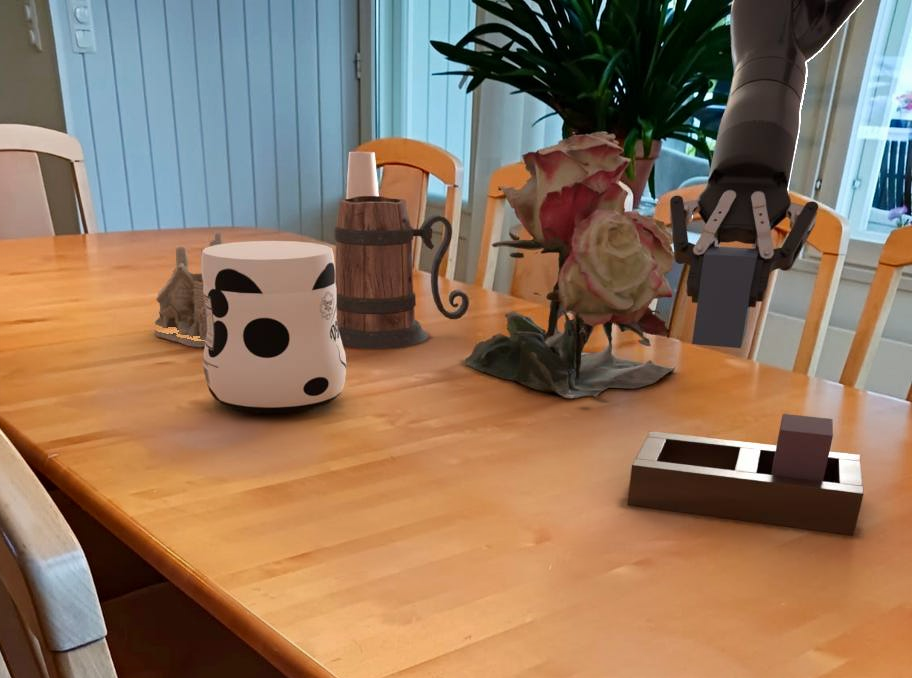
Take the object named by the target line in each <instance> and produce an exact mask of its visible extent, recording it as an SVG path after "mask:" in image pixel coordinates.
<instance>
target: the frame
mask: <svg viewBox="0 0 912 678" xmlns="http://www.w3.org/2000/svg"><path fill="white" fill-rule="evenodd" d="M776 446H777V444H776V445H774V444H767V443H759V442H758V443H757V442H749V441H741V440H732V439H722V438H714V437H707V436H706V437H705V436H696V435H688V434H687V435H686V434H678V433H670V432H660V431H653V430H652V431H651V430H649V432H648V433H647V435H646V438H645V440H644V441H643V443H642V446H641V447H640V449H639V451H638V452H637V455H636V457H635V458H634V459H633V462H632V464H631V469H630V477H629V478H630V479H629V485H628V494H627V502H626V503H627V504H626V505H628V506H635V507H641V508H648V509H655V510H663V511H671V512H677V513H685V514H693V515H698V516H699V515H700V516H708V517H716V518H722V519H729V520H730V519H731V520H738V521H745V522H751V523H752V522H753V523H757V524H758V523H760V524H765V525H766V524H767V525H774V526H781V527H790V528H795V529H804V530H812V531H817V532H818V531H819V532H824V533H825V532H826V533H834V534H841V535H847V536H854V534H855V531H856V527H857V522H858V519H859V515H860V511H861V507H862V502H863V498H864V494H865V493H864V484H863V474H862V473H863V472H862V465H861V464H862V463H861V455H860V454H855V453H846V452H837V451H830V452H829V456H828V461H827V465H826V470H825V474H824V479H823V481H815V480H807V479H799V478H790V477H782V476H774V475H771V472H772V466H773V461H774V456H775V451H776Z"/></svg>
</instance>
